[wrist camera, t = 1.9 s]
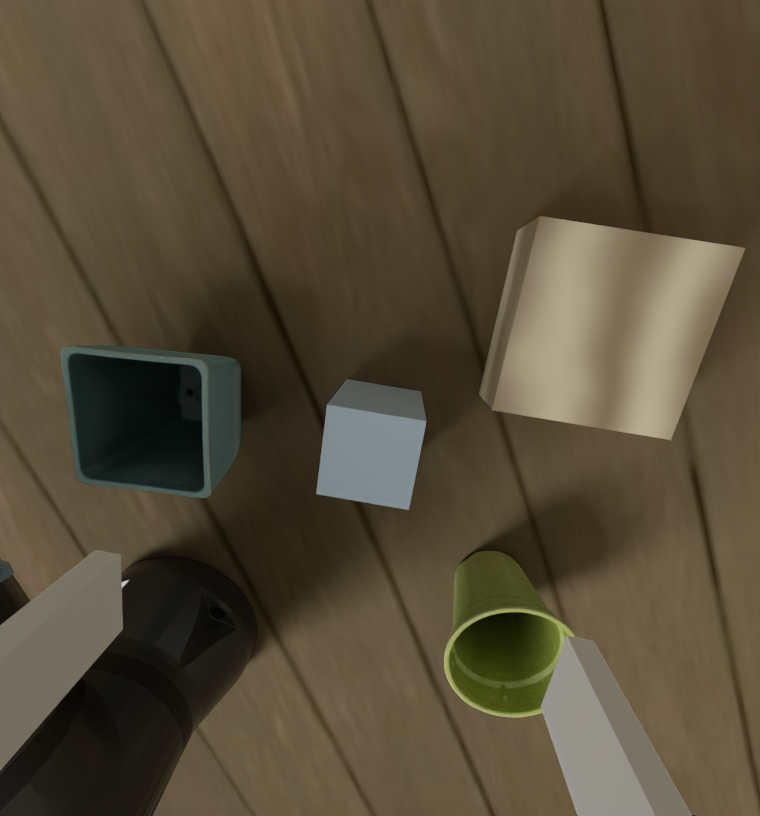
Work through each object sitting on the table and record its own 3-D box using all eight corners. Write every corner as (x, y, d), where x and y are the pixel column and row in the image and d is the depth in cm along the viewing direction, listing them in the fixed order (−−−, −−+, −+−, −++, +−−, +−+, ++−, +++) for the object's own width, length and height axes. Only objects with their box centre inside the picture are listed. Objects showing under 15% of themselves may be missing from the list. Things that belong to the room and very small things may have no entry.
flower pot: (155, 333, 30) (55, 345, 22) (263, 344, 30) (206, 360, 21) (162, 436, 33) (74, 484, 24) (262, 447, 32) (210, 500, 24)
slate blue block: (337, 448, 32) (316, 494, 24) (346, 378, 30) (326, 404, 23) (407, 460, 32) (408, 510, 24) (420, 391, 30) (426, 421, 22)
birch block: (478, 393, 30) (492, 410, 25) (515, 231, 27) (539, 215, 22) (628, 418, 30) (671, 440, 25) (684, 258, 27) (745, 248, 22)
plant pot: (433, 618, 36) (442, 714, 27) (436, 531, 33) (446, 606, 25) (534, 622, 35) (575, 721, 27) (545, 533, 33) (593, 612, 24)
